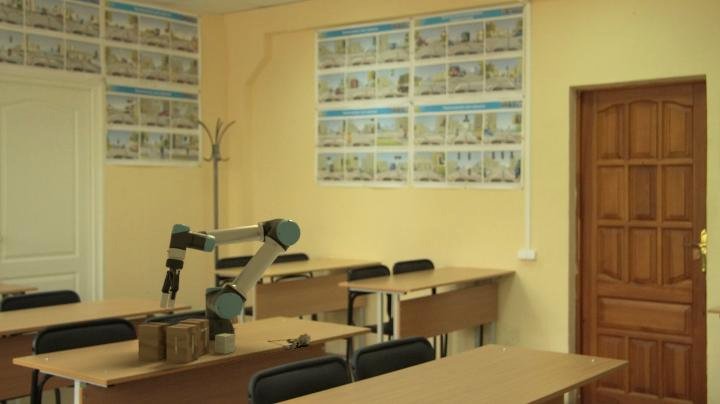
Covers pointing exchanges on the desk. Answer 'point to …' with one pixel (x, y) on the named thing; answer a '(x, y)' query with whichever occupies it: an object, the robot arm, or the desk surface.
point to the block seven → (200, 334)
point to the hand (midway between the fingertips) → (166, 307)
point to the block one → (182, 343)
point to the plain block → (152, 341)
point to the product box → (224, 343)
